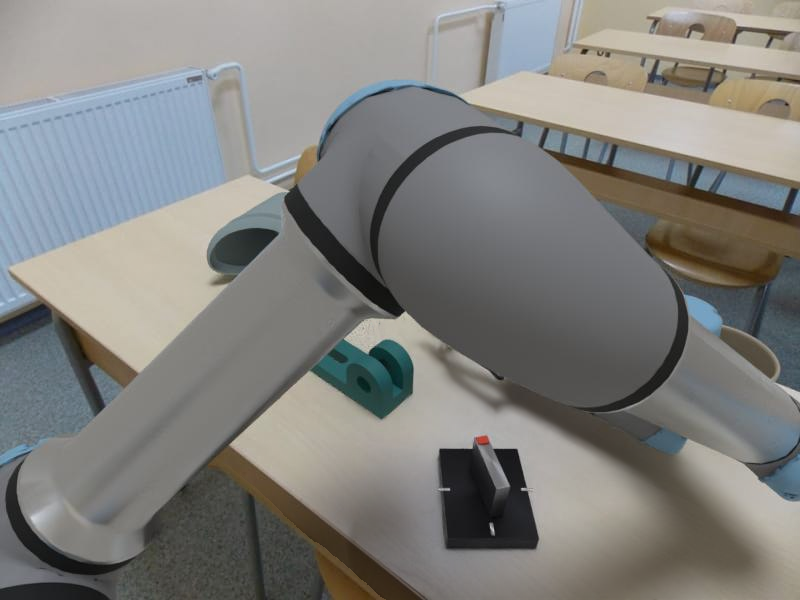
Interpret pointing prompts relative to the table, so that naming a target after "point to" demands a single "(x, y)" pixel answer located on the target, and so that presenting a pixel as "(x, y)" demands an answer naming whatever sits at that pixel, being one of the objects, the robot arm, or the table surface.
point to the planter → (752, 351)
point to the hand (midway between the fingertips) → (430, 303)
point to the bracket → (370, 374)
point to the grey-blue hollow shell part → (245, 237)
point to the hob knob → (489, 476)
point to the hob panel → (468, 511)
